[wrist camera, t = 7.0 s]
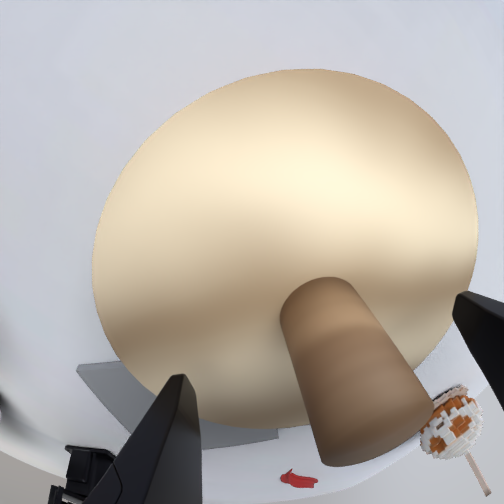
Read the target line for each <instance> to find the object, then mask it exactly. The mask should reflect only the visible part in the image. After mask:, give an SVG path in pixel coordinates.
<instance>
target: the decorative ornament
mask: <svg viewBox="0 0 504 504" xmlns="http://www.w3.org/2000/svg"><path fill="white" fill-rule="evenodd" d="M467 391H468V389H467V387H465V386H463V385H461V386H460V387H459V388H456V387H455V388H454V389H453V390H452V391H451V390H449V391H448V392H447V393H444V394H443V395H442V396H441V397H440V398H438V399H437V400H436V399H435V400H434V401H433V403H434V411H433V414H432V416H431V417H430V419H429V420H428V421H427V423H426V424H425V425H424V426H423V427H422V428H421V429H420V430H419V431H420V432H421V435H420V436H421V438H420V440H421V441H420V442H421V444H420V446H421V448H422V450H423V451H425V452H426V454H432V455H433V457H434V458H439V459H443V458H445V459H446V460H447V459H451V458H453V457H455V458H456V457H459V456H461V455H463V454H464V455H465V457H466V459H467V461H468V462H469V464H470V466H471V468H472V470H473V472H474V474H475V476H476V478H477V479H478V481H479V483H480V485H481V487H482V489H483V491H484V493H485V495H486V496H488V495H489V494H491V491H490V489H489V487H488V485H487V483H486V481H485V479H484V477H483V475H482V473H481V472H480V469H479V468H478V466H477V464H476V462H475V460H474V458H473V457H472V455H471V453H470V451H469V449H470V448H471V447H473V446H474V445H475V442H474V441H476V438H478V437H479V436H480V435H481V434H480V431H481V429H482V423H483V422H484V420H483V419H482V417H481V416H482V413H483V410H482V409H481V407H480V406H479V404H478V403H477V401H476V400H475V399H473V398H470V399H469V398H468V397H467V396H466V395H467Z"/></svg>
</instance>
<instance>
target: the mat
mask: <svg viewBox="0 0 504 504" xmlns="http://www.w3.org/2000/svg"><path fill="white" fill-rule="evenodd" d="M76 372H77V373H78V374H79V376H80V377H81V378H82V379H83V381H84V382H85V383H86V384H87V386H88V387H89V388H90V389H91V391H92V392H93V393H94V394H95V395H96V396H97V398H98V399H99V400H100V401H101V402H102V403H103V405H104V406H105V407H106V408H107V409H108V410H109V411H110V412H111V413H112V415H113V416H114V417H115V418H116V419H117V420H118V421H119V422H120V423H121V424H122V425H123V426H124V427H125V428H126V429H127V430H128V431H129V432H130V433H131V434H132V433H133V431H134V430H135V428H136V427H137V425H138V424H139V422H140V421H141V419H142V418H143V416H144V415H145V413H146V412H147V411H148V409H149V408H150V406H151V405H152V403H153V402H154V400H155V399H156V397H157V396H156V395H155V394H153V393H152V392H151V391H149V390H148V389H147V388H146V387H144V386H143V385H142V384H141V383H140V382H139V381H138V380H137V379H136V378H135V377H134V376H133V375H132V374H131V373H130V372H129V371H128V369H127V368H126V367H125V365H124V364H123V363H122V361H116V362H107V363H96V364H84V365H78V367H77V370H76ZM199 424H200V432H201V450H204V449H214V448H223V447H230V446H238V445H244V444H250V443H256V442H262V441H267V440H272V439H277V438H279V437H278V432H277V429H249V428H240V427H232V426H227V425H222V424H218V423H213V422H210V421H207V420H204V419H201V418H199Z"/></svg>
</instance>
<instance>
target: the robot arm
mask: <svg viewBox="0 0 504 504" xmlns="http://www.w3.org/2000/svg"><path fill="white" fill-rule="evenodd" d="M452 318H453V320H454V322H455V324H456V326H457V327H458V329H459V331H460V333H461V335H462V337H463V339H464V341H465V343H466V345H467V347H468V349H469V350H470V352H471V354H472V356H473V357H474V359H475V361H476V362H477V364H478V365H479V367H480V369H481V370H482V372H483V374H484V376H485V377H486V379H487V381H488V383H489V384H490V386H491V388H492V390H493V391H494V393H495V395H496V397H497V399H498V401H499V403H500V404H501V407H502V409H503V411H504V303H503V302H500V301H497V300H494V299H491V298H488V297H485V296H482V295H479V294H476V293H473V292H470V291H463V292H461V293H459V294H457V296H456V298H455V302H454V306H453V311H452ZM65 450H66V451H68V452H69V453H70V454H71V457H70V461H69V466H68V470H67V474H66V478H67V483H66V488H65V489H64V488H63V487H61V486H58V487H57V486H54V485H51V489H50V494H49V500H48V504H73V503H76V504H202V456H201V432H200V424H199V416H198V407H197V397H196V392H195V390H194V388H193V386H192V384H191V383H190V381H189V379H188V377H187V376H186V375H185V374H183V373H181V374H174V375H171V376H170V378H169V379H168V381H167V382H166V384H165V385H164V387H163V388H162V390H161V391H160V393H159V394H158V396H157V397H156V399H155V400H154V402H153V403H152V405H151V406H150V408H149V409H148V411H147V412H146V413H145V415H144V416H143V418H142V419H141V421H140V422H139V424H138V425H137V427H136V428H135V430H134V431H133V433H132V434H131V436H130V437H129V439H128V440H127V442H126V443H125V445H124V446H123V448H122V449H121V451H120V452H119V454H118V455H117V457H115V456H113V455H112V454H111V453H110V452H108V451H106V450H99V449H89V448H80V447H73V446H65ZM62 498H64V499H66V500H68V501H71V502H73V503H70V502H67V503H66V502H64V501H62Z"/></svg>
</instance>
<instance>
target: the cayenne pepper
mask: <svg viewBox="0 0 504 504" xmlns="http://www.w3.org/2000/svg"><path fill="white" fill-rule="evenodd" d="M291 471H292V469H291V470H290V471H289V472H288V473H286V474H283V475H282V476H281V481H282V482H284V483H288V484H291V485H292V486H294V487H297V488H314V483H317V482H318V480H317V479H315V478H311V477H302V476H298V475H295V474H294V473H291ZM290 473H291V474H290Z"/></svg>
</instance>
